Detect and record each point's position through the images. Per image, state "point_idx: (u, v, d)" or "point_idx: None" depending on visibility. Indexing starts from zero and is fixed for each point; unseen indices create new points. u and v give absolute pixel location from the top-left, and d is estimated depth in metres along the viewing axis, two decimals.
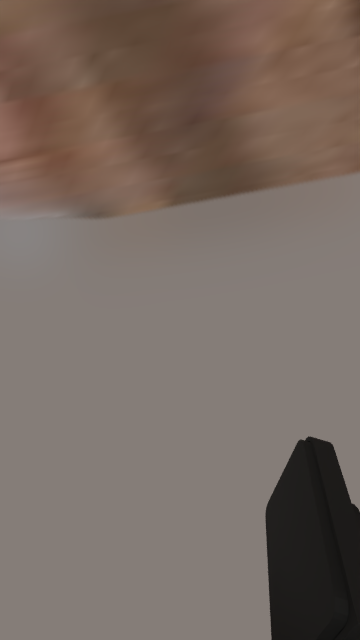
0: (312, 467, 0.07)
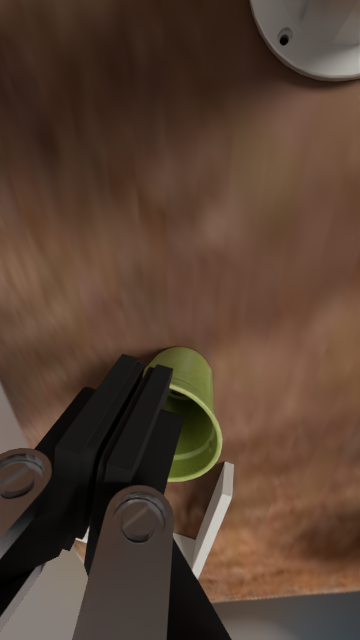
0: (144, 382, 0.09)
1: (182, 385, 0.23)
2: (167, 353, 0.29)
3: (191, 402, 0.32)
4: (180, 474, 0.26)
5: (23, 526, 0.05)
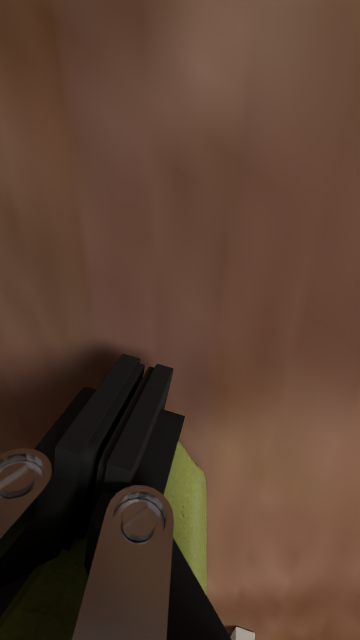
0: (144, 382, 0.09)
1: None
2: None
3: None
4: None
5: (23, 526, 0.05)
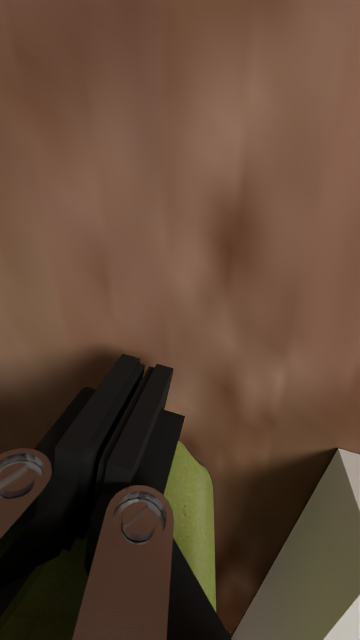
0: (144, 382, 0.09)
1: None
2: None
3: None
4: None
5: (23, 526, 0.05)
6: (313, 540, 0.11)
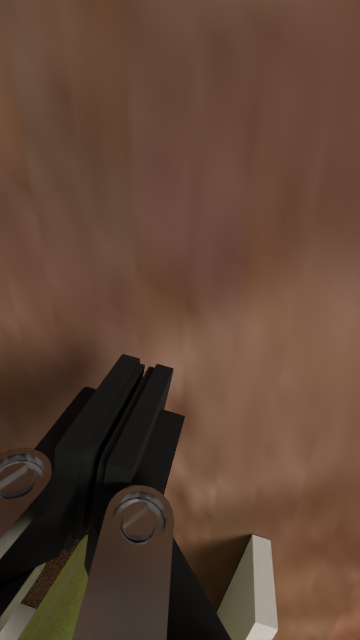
0: (144, 382, 0.09)
1: None
2: None
3: None
4: None
5: (23, 526, 0.05)
6: (236, 596, 0.18)
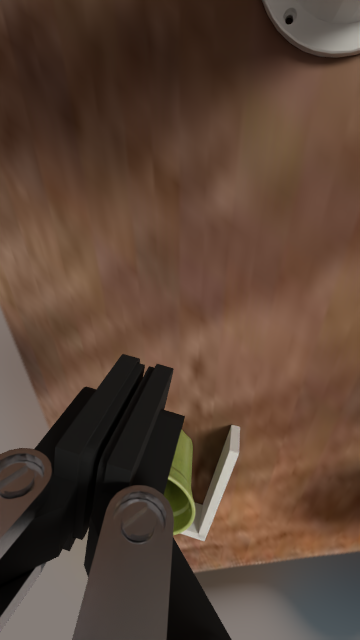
0: (144, 382, 0.09)
1: None
2: None
3: None
4: None
5: (23, 526, 0.05)
6: (223, 452, 0.38)
